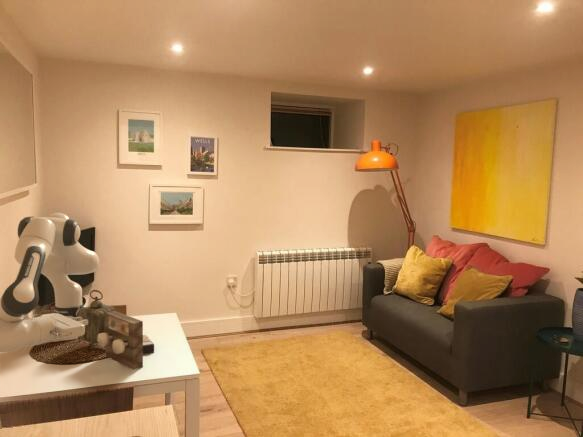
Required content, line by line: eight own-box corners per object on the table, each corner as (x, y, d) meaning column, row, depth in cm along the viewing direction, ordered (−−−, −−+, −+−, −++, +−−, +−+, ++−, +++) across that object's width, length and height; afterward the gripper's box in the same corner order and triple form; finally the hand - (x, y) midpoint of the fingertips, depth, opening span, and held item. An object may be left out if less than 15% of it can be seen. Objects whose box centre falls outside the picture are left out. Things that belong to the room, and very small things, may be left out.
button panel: (132, 370, 182) (132, 323, 180) (104, 356, 194) (104, 313, 192) (142, 366, 185) (142, 321, 183) (114, 353, 198) (114, 310, 196)
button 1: (104, 348, 186) (104, 335, 185) (97, 344, 189) (97, 332, 189) (120, 343, 191) (119, 331, 191) (113, 340, 194) (112, 328, 194)
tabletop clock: (117, 347, 204) (116, 290, 202) (100, 354, 196) (100, 294, 193) (91, 342, 210) (91, 286, 208) (74, 348, 202) (74, 290, 199)
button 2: (119, 355, 179) (119, 342, 179) (112, 352, 182) (112, 338, 182) (135, 350, 184) (135, 337, 184) (128, 347, 187) (128, 334, 187)
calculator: (146, 333, 213) (154, 342, 200) (146, 343, 213) (154, 353, 200) (120, 337, 208) (126, 346, 194) (120, 346, 208) (126, 357, 195)
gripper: (58, 327, 152) (99, 317, 163) (30, 314, 165) (70, 306, 176) (58, 346, 153) (99, 336, 164) (31, 331, 166) (70, 323, 176)
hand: (84, 320), depth 170 cm, fingers open, 3 cm apart
